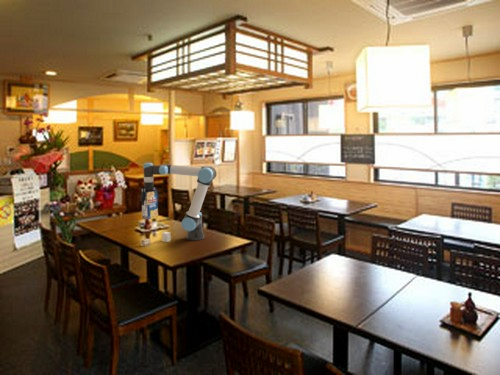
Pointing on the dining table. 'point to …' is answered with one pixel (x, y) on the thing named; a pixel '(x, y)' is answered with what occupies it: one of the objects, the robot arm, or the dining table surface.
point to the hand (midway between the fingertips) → (149, 208)
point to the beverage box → (150, 205)
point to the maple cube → (145, 242)
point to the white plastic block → (166, 236)
